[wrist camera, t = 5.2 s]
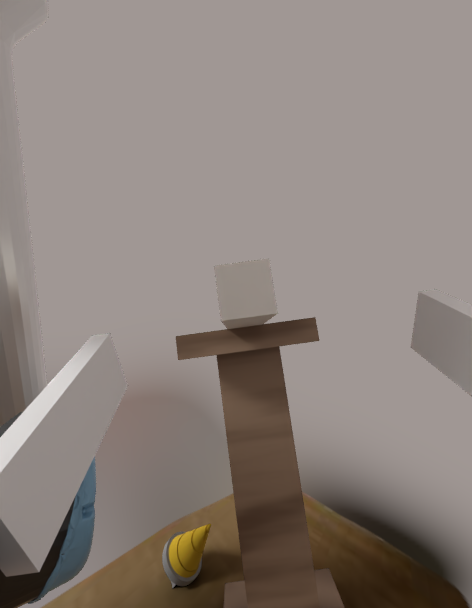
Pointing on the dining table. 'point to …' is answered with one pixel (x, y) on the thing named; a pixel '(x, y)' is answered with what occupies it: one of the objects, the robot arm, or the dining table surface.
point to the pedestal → (264, 466)
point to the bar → (245, 293)
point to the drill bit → (184, 555)
